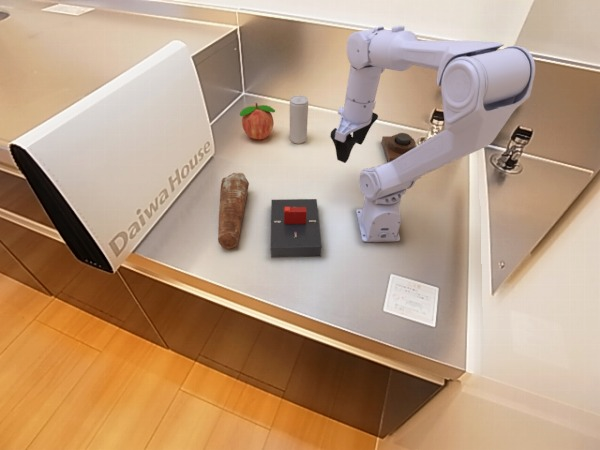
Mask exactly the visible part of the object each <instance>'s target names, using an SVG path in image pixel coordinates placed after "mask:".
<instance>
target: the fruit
mask: <svg viewBox="0 0 600 450" xmlns="http://www.w3.org/2000/svg"><path fill="white" fill-rule="evenodd" d="M275 112H276V109H274V108H273V107H271V106H270V105H267V104H266V105H265V104H258V102H255V104H254V105H251V106H250V105H249V106H247V107H245V108H243V109H241V111H240V112H239V116H240V117H242V118H241V125H242V129H243V131H244V133H245V134H246V135H247V136H248V137H249V138H251V139H253V140H264V139H265V138H267V137H269V136H270V135H271V133H272V132H273V129H274V117H273V115H272V113H275Z"/></svg>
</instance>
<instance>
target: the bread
mask: <svg viewBox="0 0 600 450" xmlns="http://www.w3.org/2000/svg"><path fill="white" fill-rule="evenodd" d="M245 175H246V174H244V173H243V172H233V173H231V174H228V176H227V177H223V178H222V179H221V183H220V188H219V189H220V190H219V191H220V192H219V208H218V209H219V210H218V234H217V235H218V236H217V237H218V238H217V242H218V244H219V245H220V246H221V247H222V248H224V249H232V248H235V247H237V245H239V239H240V233H241V229H242V223H243V218H244V212H245V208H246V207H245V205H246V201H247V197H248V192H249V186H250V183H249V181H248V179H247V178H246V176H245Z"/></svg>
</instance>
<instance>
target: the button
mask: <svg viewBox="0 0 600 450" xmlns="http://www.w3.org/2000/svg"><path fill="white" fill-rule="evenodd" d="M396 134H397V136H396V140H395V142H396V143H397V144H399V145H402V146H407V145H409V142H410V138H411V137H412V136H411V135H410V134H408V133H407V132H399V133H396ZM410 136H411V137H410Z"/></svg>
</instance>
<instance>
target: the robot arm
mask: <svg viewBox="0 0 600 450" xmlns="http://www.w3.org/2000/svg"><path fill="white" fill-rule="evenodd" d="M405 28H406V27H405V25H397V26H396V25H395V26H392V27H391V29H386V28H385V27H384V26H376V27H374V28H371V29H365V30H359V31H358V30H356V31H355V32H352V33H351V34H350V35H348V38H347V40H346V41H347V42H346V56H347V60H348V62H349V64H350V67H349V71H348V72H349V73H348V79H347V85H346V91H345V98H344V99H345V100H344V105H343V106H341V107H340V108H339V109H338V110H337V114H338V115H339V116H340V119H339V124H338V127H337V128H336V127H334V128H333V129H332V130H331V131H330V136H329V137H330V139H331V140H332V142H333V145H334V148H335V153H336V154H335V155H336V159H337V161H339V162H342V163H344V164H346V163H347V162H348V160H349V159H350V156H351V153H352V150H353V148H354V146H355V145H356V144H358V145H361V146H362V145H363V143H364V141H365V140H366V137H367V135H368V133H369V131H370V129H371V127H372V126H373V124H374V123H375V122H376V121H377V120H378V118H379V115H378V114H377V113H375V112H374V110H375V108H376V103H377V101H376V96H377V92H378V88H379V84H380V79H381V75H382V74H383V73H384V72H385V70H391V71H398V72H404V71H408V70H409V69H410V68H411V67H412V66H416V67H421V68H424V69H428V70H429V69H430V70H434V71H437V74H436V75H437V76H436V86H437V87H440V91H441V92H440V94H441V102H442V111H443V119H444V120H443V122H444V129H443V130H442V131H440V132H438V133H436V134H434V135H433V136H431V137H429V138H428V139H427V140H425V141H423V142H422V143H420V144H418V145H416V147H415V148H413V149H412V150H410V151H408V152H406V153H405V154H403V155H401V156H400V157H398V158H396V159H395V160H393V161H391V162H389V163H388V162H386V163H383V164H380V165H375V166H373V167H370V168H364V169H362V170H361V171H360V173H359V177H358V186H359V189H360V191H361V193H362V195H363V196H364V199H363V203H362V204H363V205H362V208H361V209H360V208H357V209H356V211H355V213H356V218H357V222H358V227H359V232H360V236H361V241H362V242H364V243H374V242H375V243H378V242H379V243H380V242H383V243H384V242H386V243H387V242H400V241H401V237H400V234H399V230H400V227H401V225H402V216H401V212H400V205H401V201H402V198H403V196H404V195H406V193H407V190H409V189H411V188H413V187H414V186H415V184H416V182H417V181H418V180H420V179H421V178H422V177H423V176H425V175H428V174H429V173H432V172H434V171H436V170H438V169H441V168H443V167H445V166H448V165H449V164H451V163H454V162H455V161H458V160H460V159H462V158H465V157H467V156H469V155H471V154H473V153H476V152H477V151H480V150H482V149H484V148H487V147H488V146H490V145H491V144H492V143H493V142H494V141H495V139H496V138H497V136H498V135H499V133H500V132H501V131H502V129H503V127H504V126H505V125H506V123H507V122H508V120H509V119H510V118H511V116H512V114H514V112H515V110H517V108H518V107H520V106H521V105H522V104H523V103H525V101H527V100H528V99H529V98H530V97H531V94H532V89H533V86H534V85H533V84H534V80H535V75H536V62H535V59H534V57H533V55H532V53H531V52H530V51H529V50H528V49H527V48H525V47H523V46H519V45H510V46H506V47H504V46H505V44H503V43H501V42H495V41H479V40H422V39H421V40H420V39H419V38H418V37H417V35H416V34H415V33H414V32H413V31H411V30H405ZM501 47H504V48H502V49H500V48H501Z"/></svg>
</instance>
